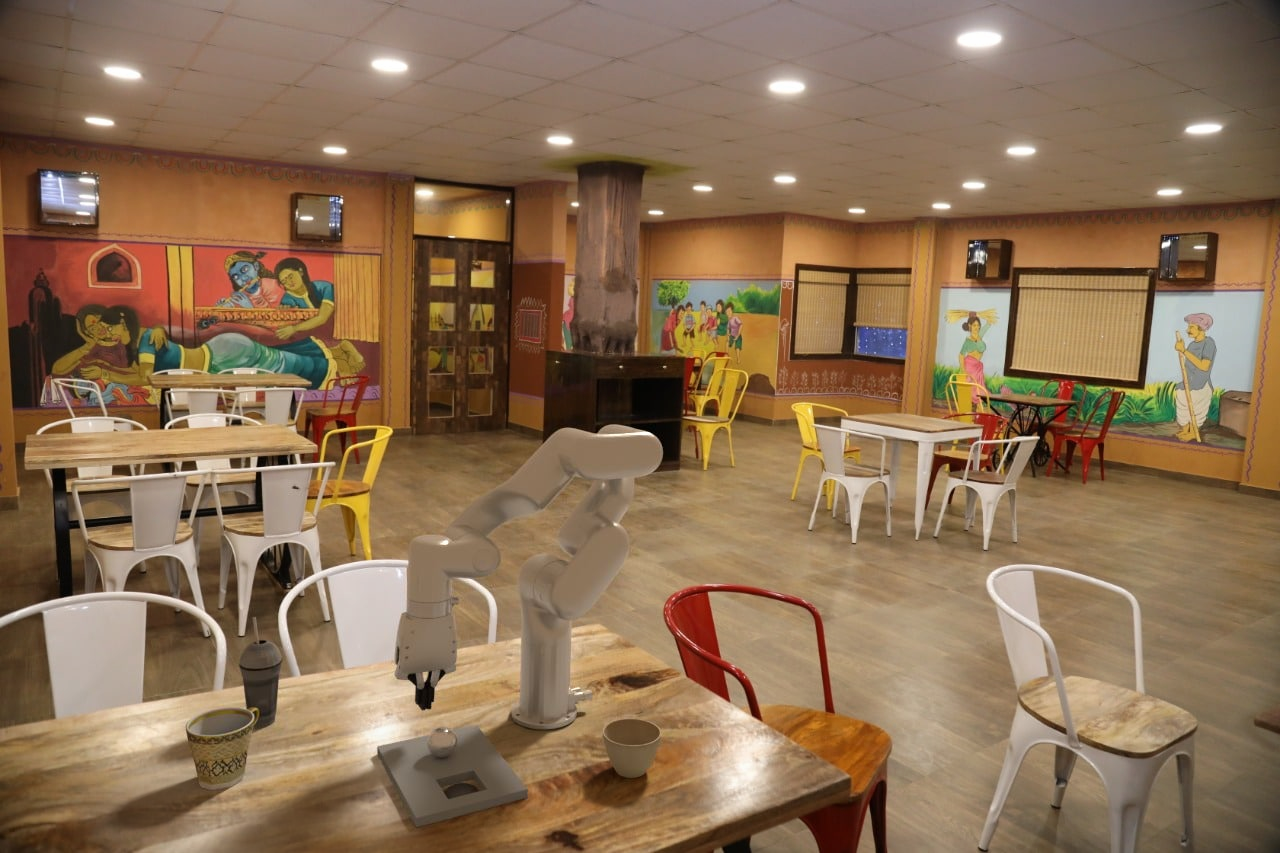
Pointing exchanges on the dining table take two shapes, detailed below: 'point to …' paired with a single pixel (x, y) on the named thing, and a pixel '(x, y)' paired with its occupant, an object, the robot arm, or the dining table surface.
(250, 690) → the beverage cup
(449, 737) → the ball
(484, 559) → the robot arm
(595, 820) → the dining table surface
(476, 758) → the grey flat plate
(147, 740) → the dining table surface
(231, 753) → the ceramic cup
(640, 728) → the flower pot
